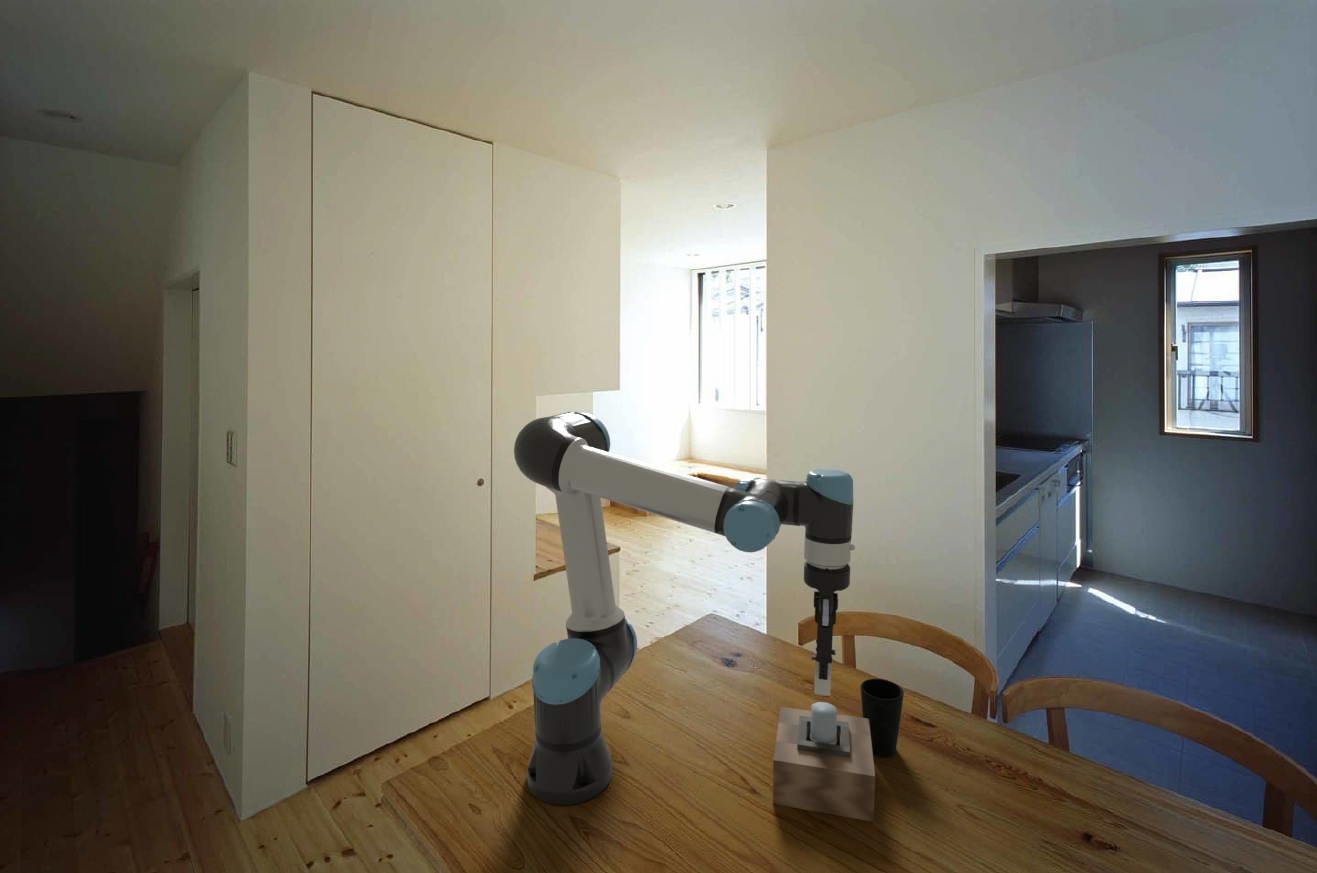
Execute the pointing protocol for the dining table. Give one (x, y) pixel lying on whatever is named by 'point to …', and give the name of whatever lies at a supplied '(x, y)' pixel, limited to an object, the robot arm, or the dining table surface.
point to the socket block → (824, 767)
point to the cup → (882, 714)
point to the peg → (823, 723)
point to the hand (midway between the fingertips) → (822, 692)
